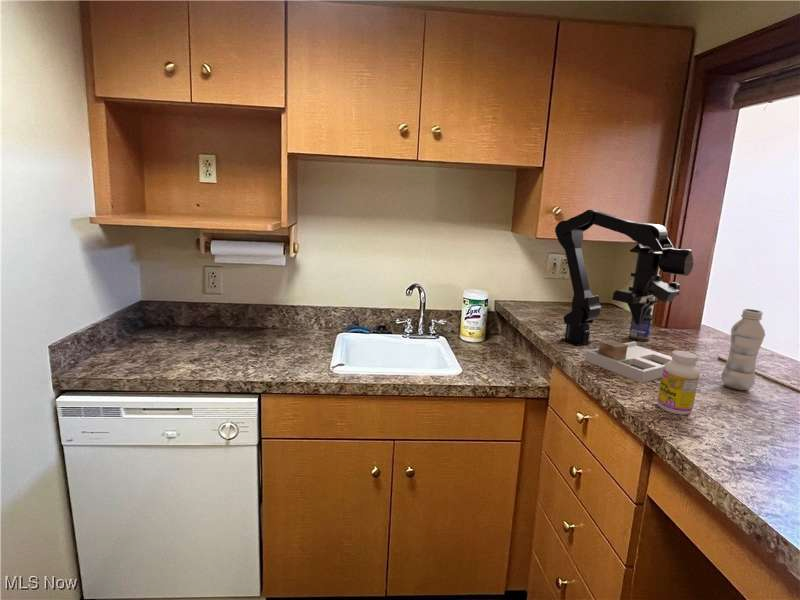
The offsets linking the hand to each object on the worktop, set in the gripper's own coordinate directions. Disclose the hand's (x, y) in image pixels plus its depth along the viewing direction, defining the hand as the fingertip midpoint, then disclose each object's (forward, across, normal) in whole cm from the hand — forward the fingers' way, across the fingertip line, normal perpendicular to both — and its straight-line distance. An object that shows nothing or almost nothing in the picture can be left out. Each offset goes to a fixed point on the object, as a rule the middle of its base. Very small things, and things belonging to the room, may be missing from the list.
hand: (637, 324), depth 127 cm
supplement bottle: (+11, -21, -24) cm, 34 cm away
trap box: (+10, -4, -4) cm, 12 cm away
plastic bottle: (+11, +6, -24) cm, 27 cm away
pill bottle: (+11, +21, +12) cm, 27 cm away
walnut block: (+8, -10, 0) cm, 13 cm away
